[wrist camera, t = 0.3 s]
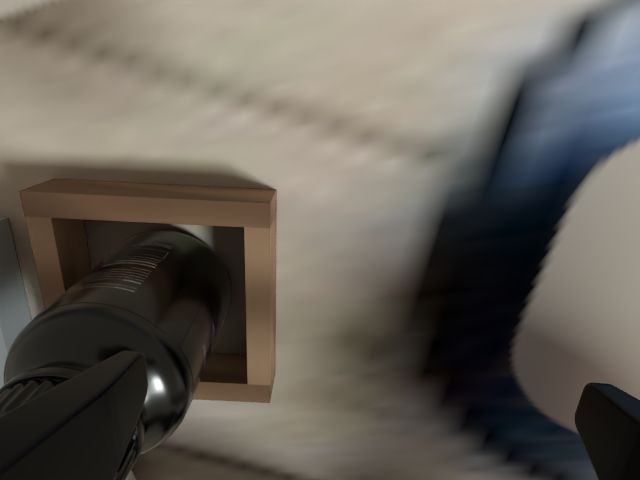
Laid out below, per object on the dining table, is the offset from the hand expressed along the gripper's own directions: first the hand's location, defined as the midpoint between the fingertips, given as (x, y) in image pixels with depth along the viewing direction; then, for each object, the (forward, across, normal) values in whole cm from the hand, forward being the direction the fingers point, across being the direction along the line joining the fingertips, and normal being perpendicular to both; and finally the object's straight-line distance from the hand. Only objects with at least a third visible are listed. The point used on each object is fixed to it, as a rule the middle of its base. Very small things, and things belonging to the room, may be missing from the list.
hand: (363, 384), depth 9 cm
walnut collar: (+14, +9, +5) cm, 17 cm away
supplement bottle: (+14, +9, +5) cm, 18 cm away
